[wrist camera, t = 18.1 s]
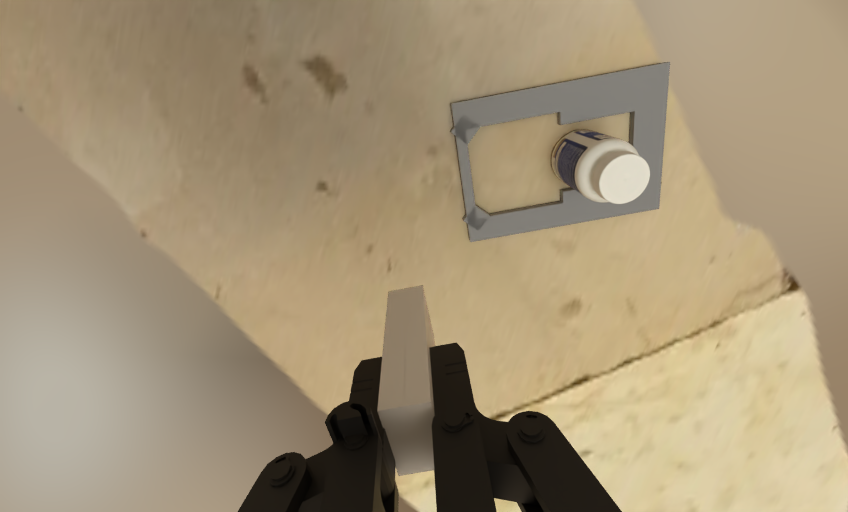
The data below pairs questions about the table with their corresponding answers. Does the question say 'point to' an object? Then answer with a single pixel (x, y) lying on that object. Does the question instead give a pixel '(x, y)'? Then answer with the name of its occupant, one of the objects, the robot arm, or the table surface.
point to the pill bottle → (600, 166)
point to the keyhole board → (573, 103)
